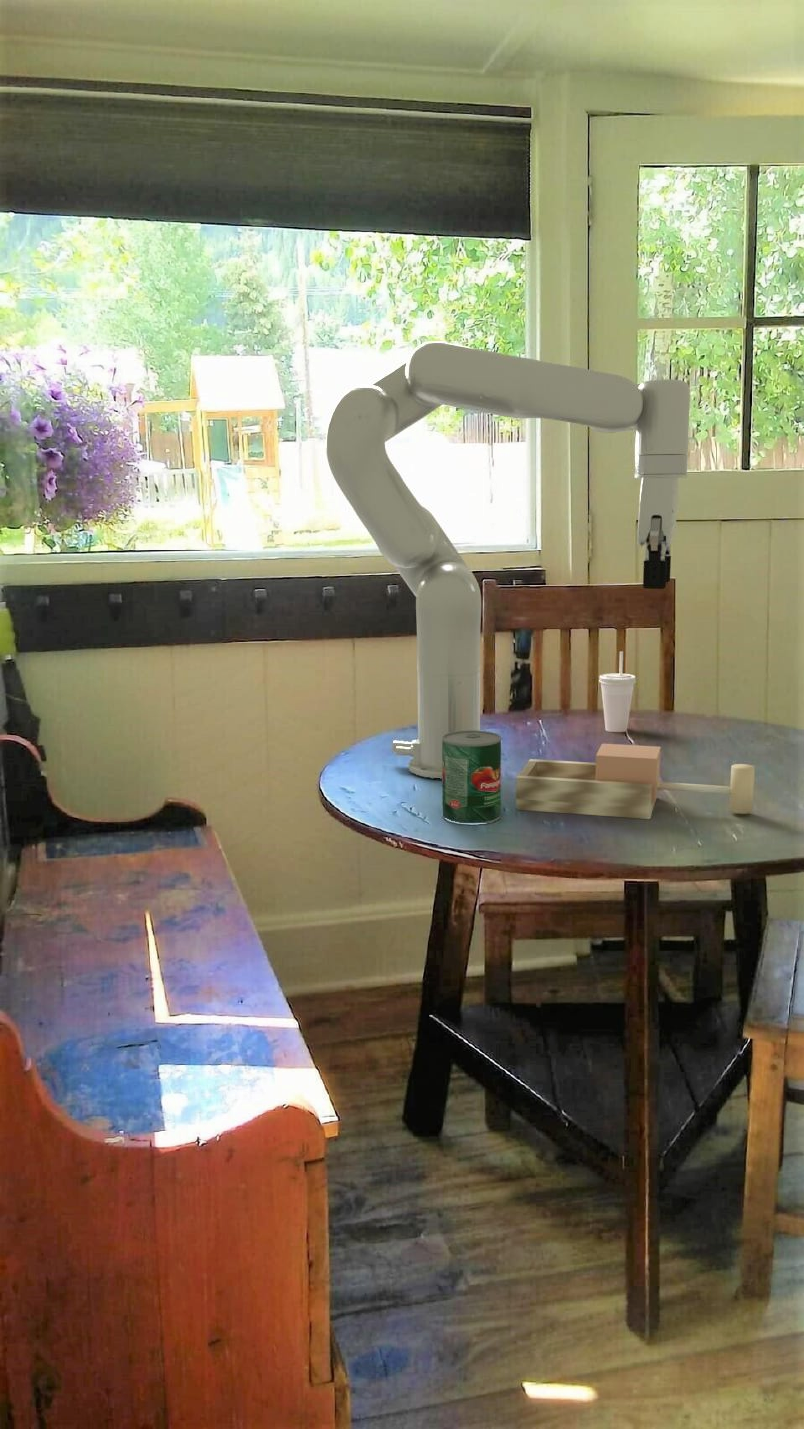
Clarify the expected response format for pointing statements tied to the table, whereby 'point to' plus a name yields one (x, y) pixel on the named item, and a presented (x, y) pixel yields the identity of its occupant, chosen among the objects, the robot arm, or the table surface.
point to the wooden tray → (579, 791)
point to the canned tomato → (471, 776)
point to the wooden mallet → (645, 768)
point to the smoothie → (617, 698)
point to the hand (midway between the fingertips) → (656, 585)
